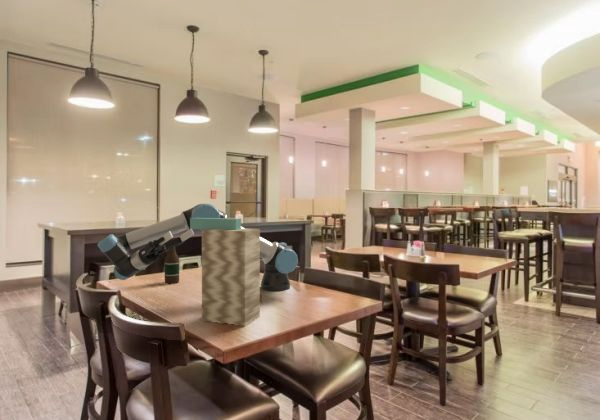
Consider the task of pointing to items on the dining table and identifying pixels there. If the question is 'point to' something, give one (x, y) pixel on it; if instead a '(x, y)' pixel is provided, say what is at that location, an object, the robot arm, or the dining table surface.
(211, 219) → the bar
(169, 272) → the beer bottle
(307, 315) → the dining table surface
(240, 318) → the tall wood-grain block
